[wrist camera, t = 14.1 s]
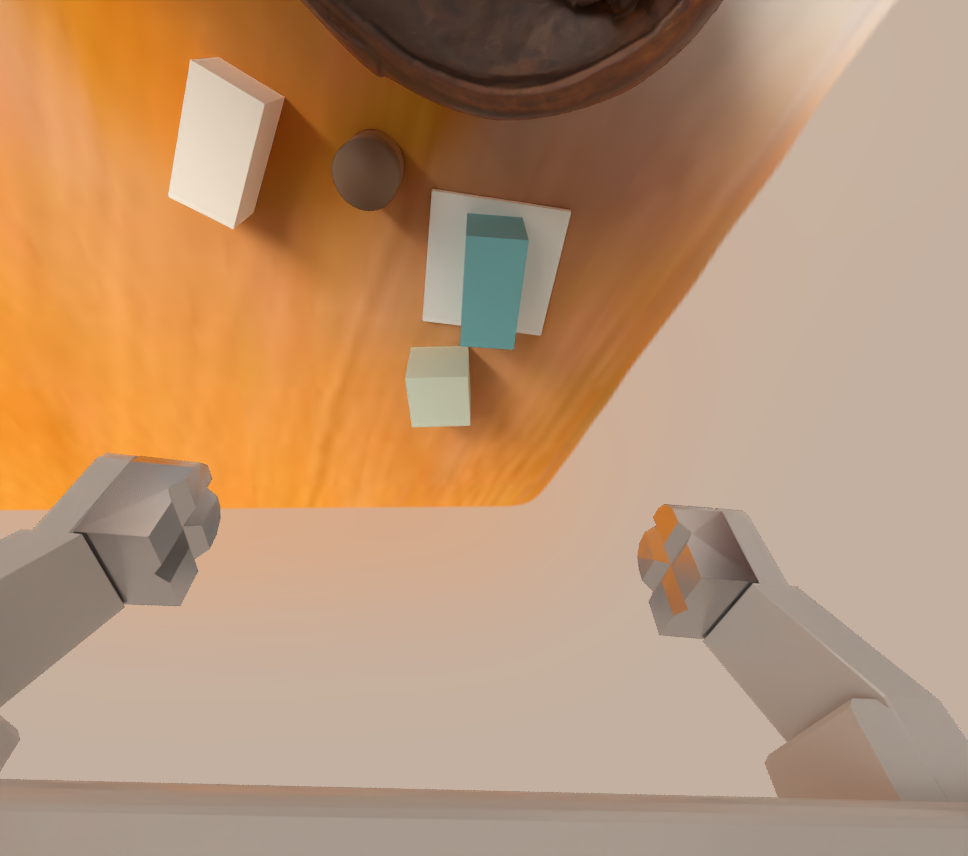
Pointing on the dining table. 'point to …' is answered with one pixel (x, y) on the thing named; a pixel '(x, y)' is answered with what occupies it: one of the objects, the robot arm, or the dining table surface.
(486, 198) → the coaster
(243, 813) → the robot arm
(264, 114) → the cream brick
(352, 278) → the dining table surface
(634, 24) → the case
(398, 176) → the walnut cylinder
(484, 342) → the teal brick
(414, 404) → the sage cube
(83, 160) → the dining table surface
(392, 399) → the dining table surface
